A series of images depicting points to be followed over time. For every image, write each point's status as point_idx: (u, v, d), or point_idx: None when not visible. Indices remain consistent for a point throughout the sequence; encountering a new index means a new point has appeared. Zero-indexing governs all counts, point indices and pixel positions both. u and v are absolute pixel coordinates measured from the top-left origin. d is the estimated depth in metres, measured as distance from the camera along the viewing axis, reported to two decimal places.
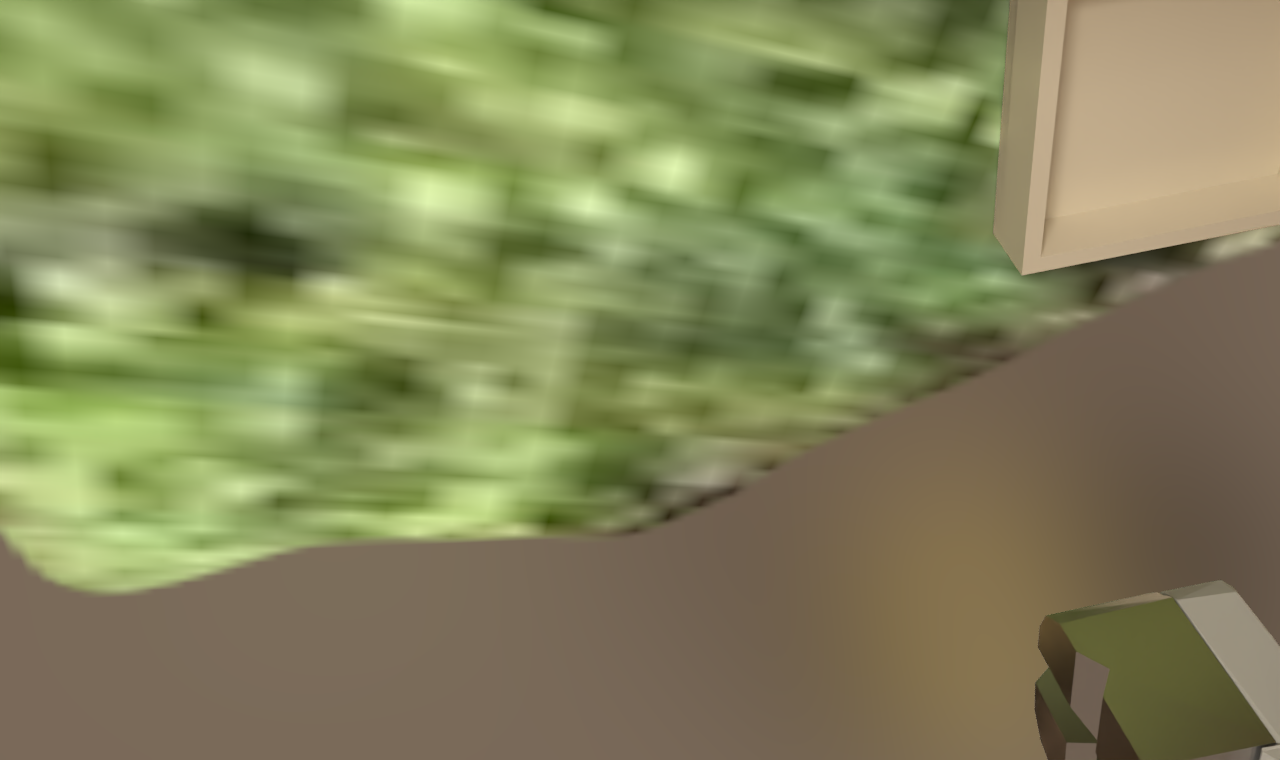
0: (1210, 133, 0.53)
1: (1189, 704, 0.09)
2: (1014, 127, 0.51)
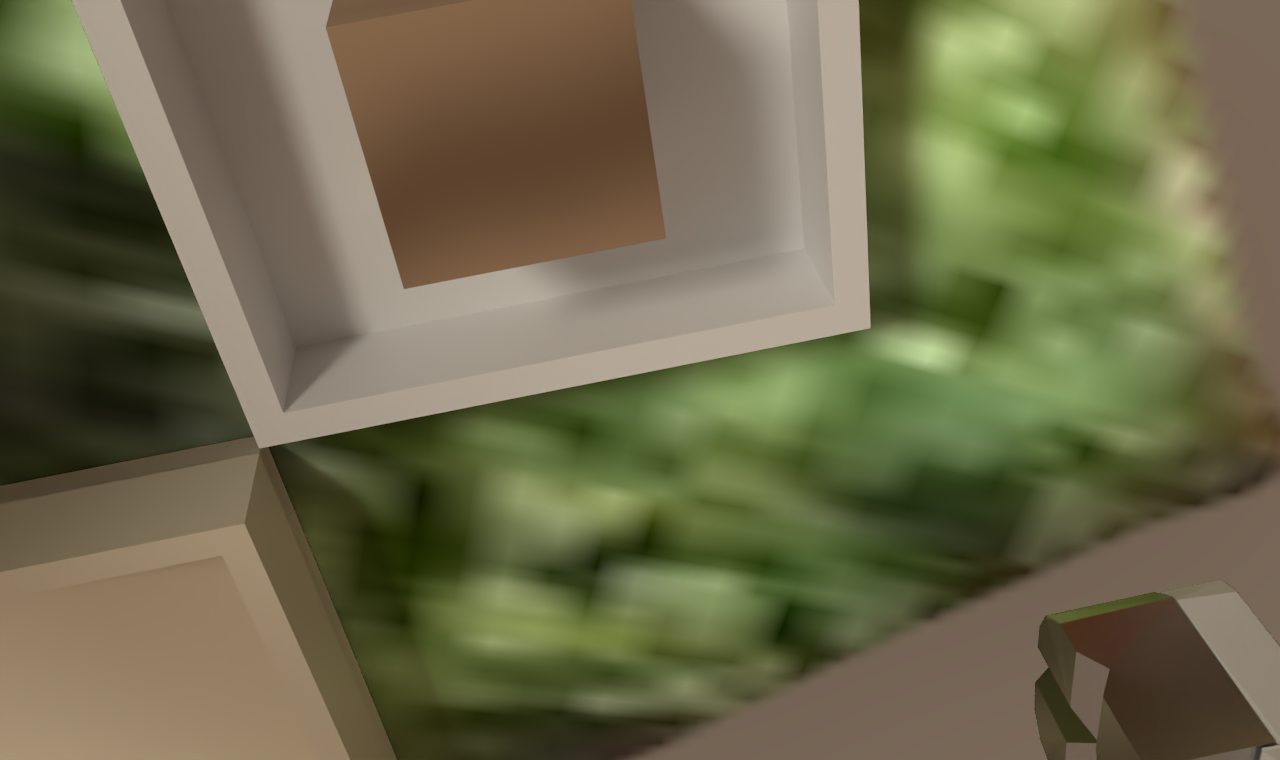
0: (219, 748, 0.36)
1: (1189, 704, 0.09)
2: None
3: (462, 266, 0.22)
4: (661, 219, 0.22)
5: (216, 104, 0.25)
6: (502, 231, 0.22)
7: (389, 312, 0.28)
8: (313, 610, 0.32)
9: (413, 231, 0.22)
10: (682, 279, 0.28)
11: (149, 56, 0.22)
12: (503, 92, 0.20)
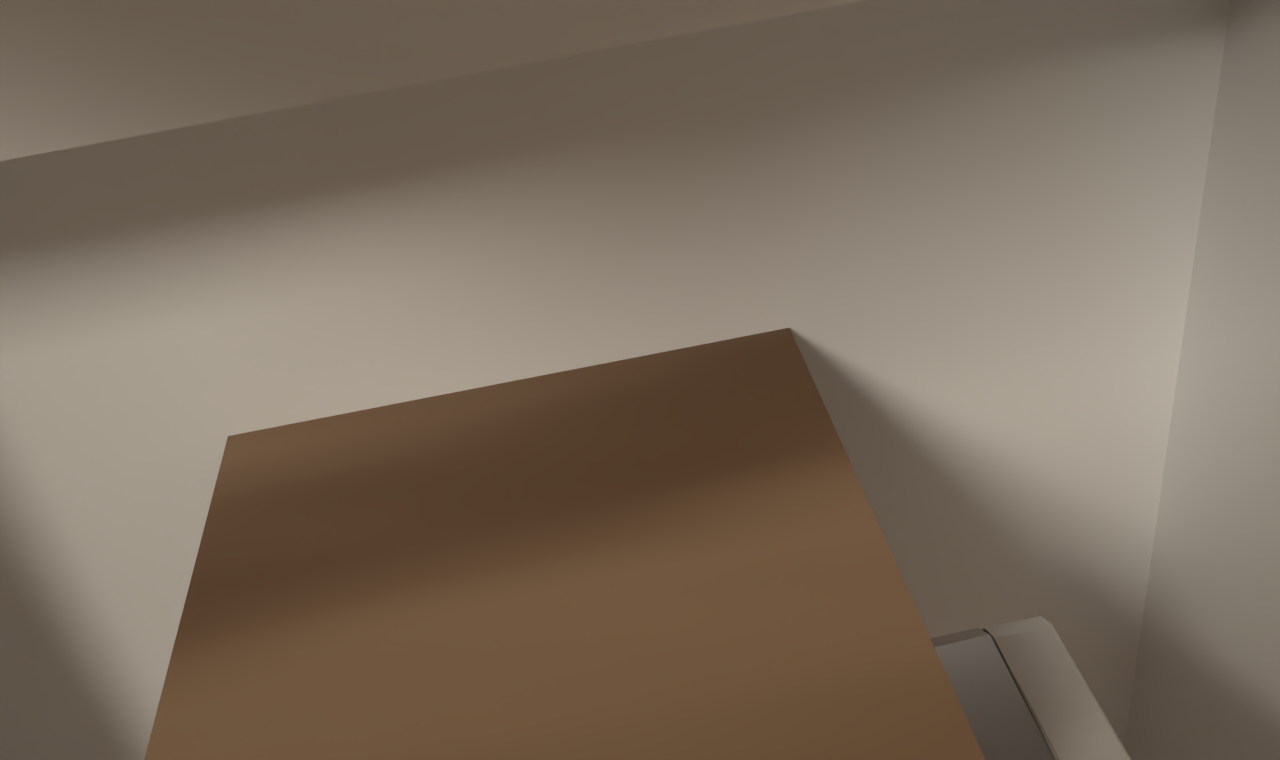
0: None
1: (989, 746, 0.09)
2: None
3: None
4: None
5: None
6: None
7: None
8: None
9: None
10: None
11: None
12: None
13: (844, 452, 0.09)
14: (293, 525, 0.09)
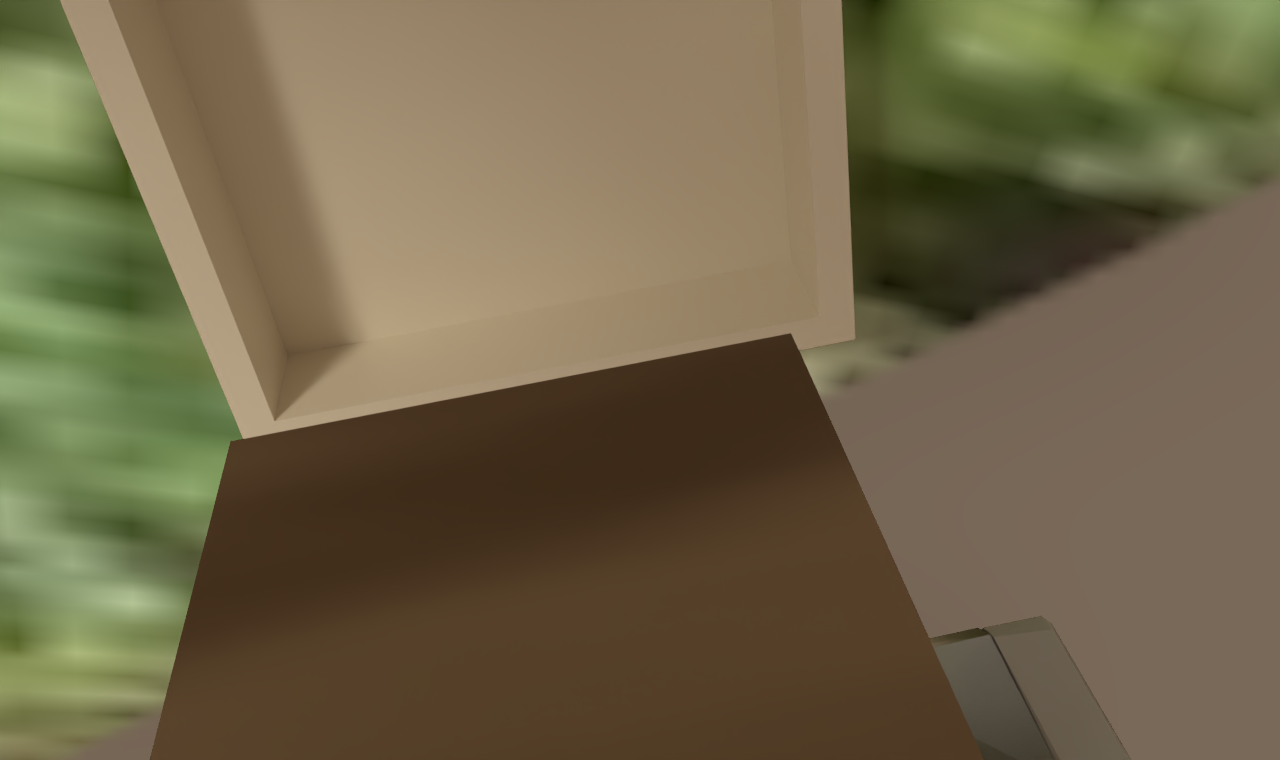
0: (622, 179, 0.27)
1: (989, 746, 0.09)
2: None
3: None
4: None
5: None
6: None
7: None
8: None
9: None
10: None
11: None
12: None
13: (845, 458, 0.09)
14: (296, 531, 0.09)
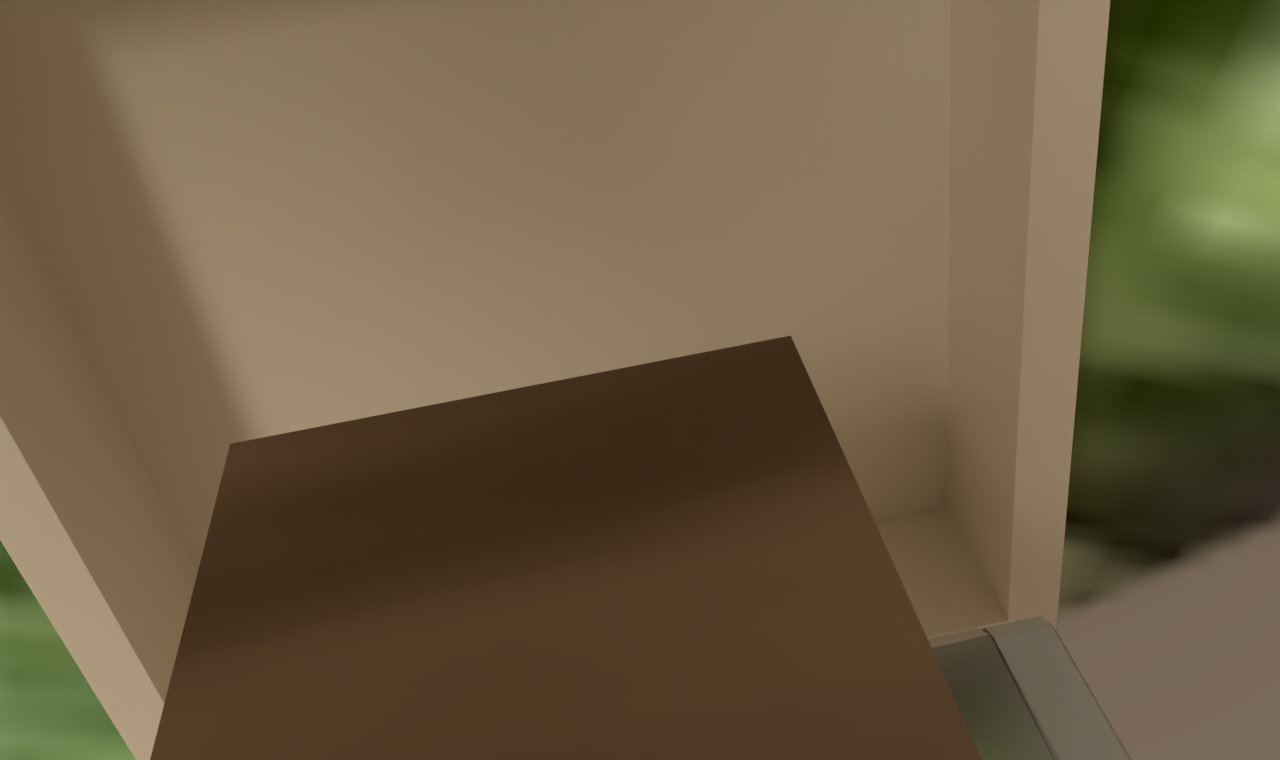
0: None
1: (989, 745, 0.09)
2: None
3: None
4: None
5: None
6: None
7: None
8: None
9: None
10: None
11: None
12: None
13: (845, 461, 0.09)
14: (295, 533, 0.09)
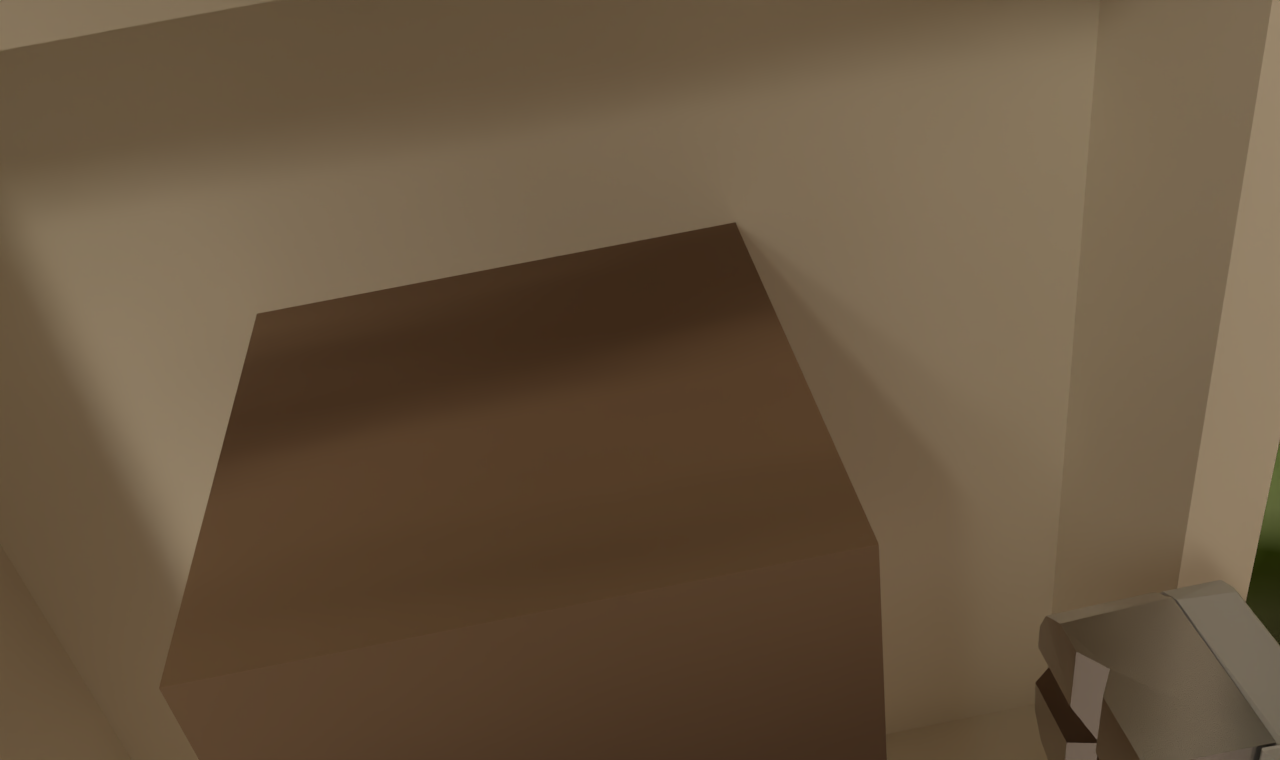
0: None
1: (1189, 704, 0.09)
2: None
3: None
4: None
5: None
6: None
7: None
8: None
9: None
10: None
11: None
12: None
13: (773, 311, 0.11)
14: (314, 375, 0.11)
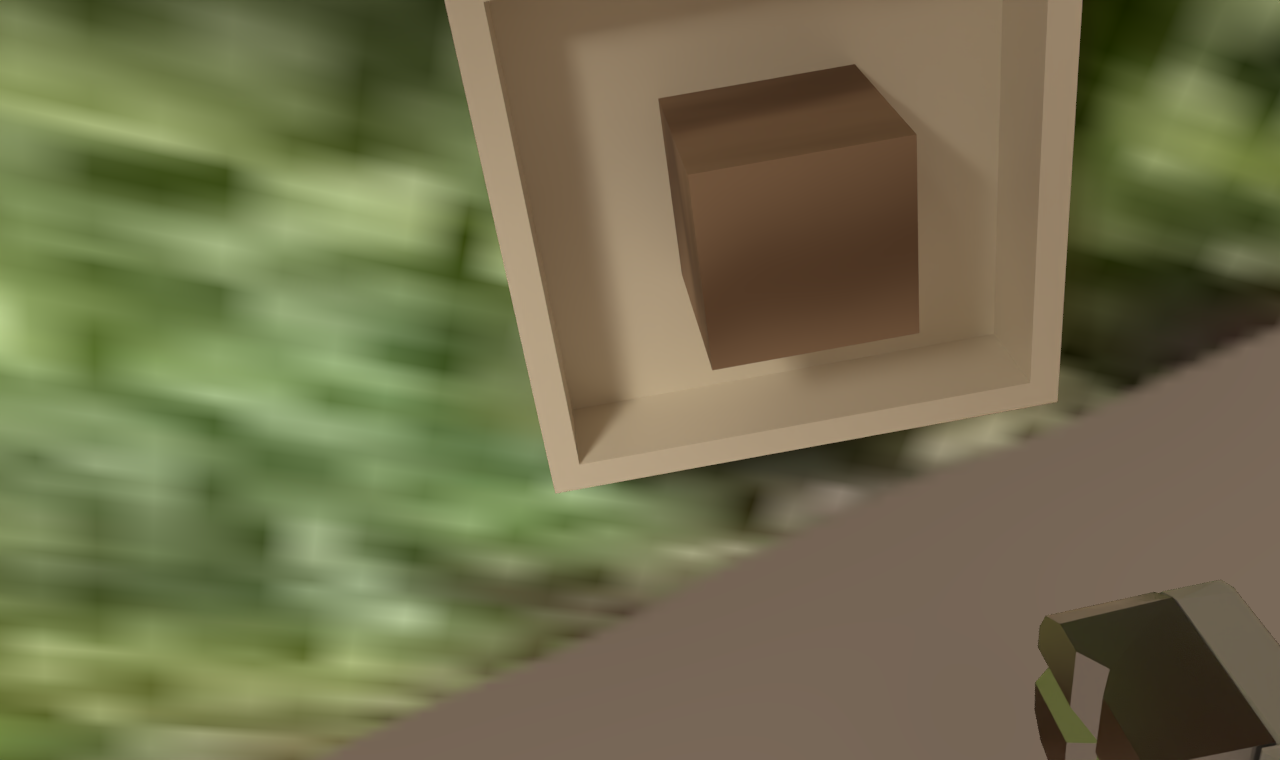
0: None
1: (1189, 704, 0.09)
2: None
3: (759, 353, 0.28)
4: (917, 318, 0.28)
5: None
6: (794, 326, 0.28)
7: None
8: None
9: (726, 326, 0.28)
10: None
11: None
12: (812, 222, 0.26)
13: (874, 87, 0.28)
14: (695, 112, 0.28)
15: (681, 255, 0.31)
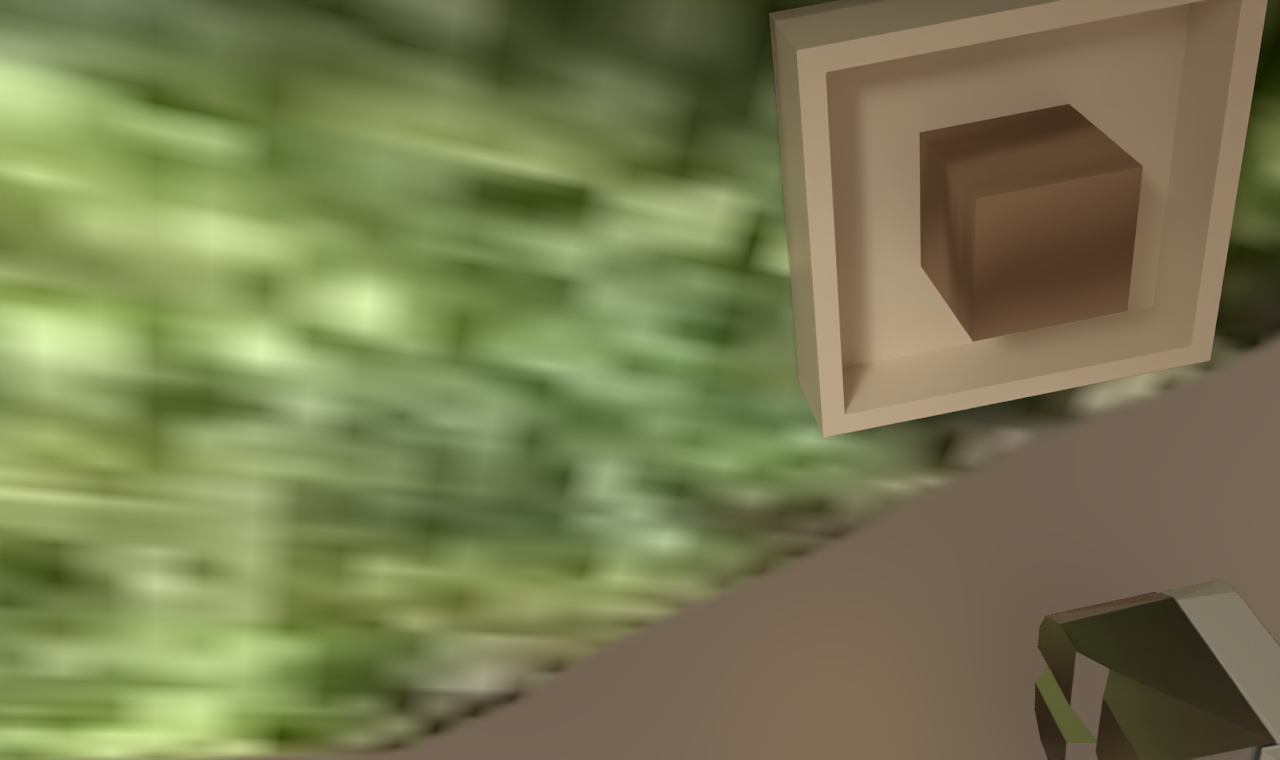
0: None
1: (1189, 704, 0.09)
2: (796, 250, 0.40)
3: (1009, 328, 0.37)
4: (1127, 300, 0.37)
5: None
6: (1037, 308, 0.37)
7: None
8: None
9: (988, 308, 0.37)
10: None
11: None
12: (1060, 231, 0.35)
13: (1093, 125, 0.37)
14: (956, 145, 0.37)
15: (926, 251, 0.40)
